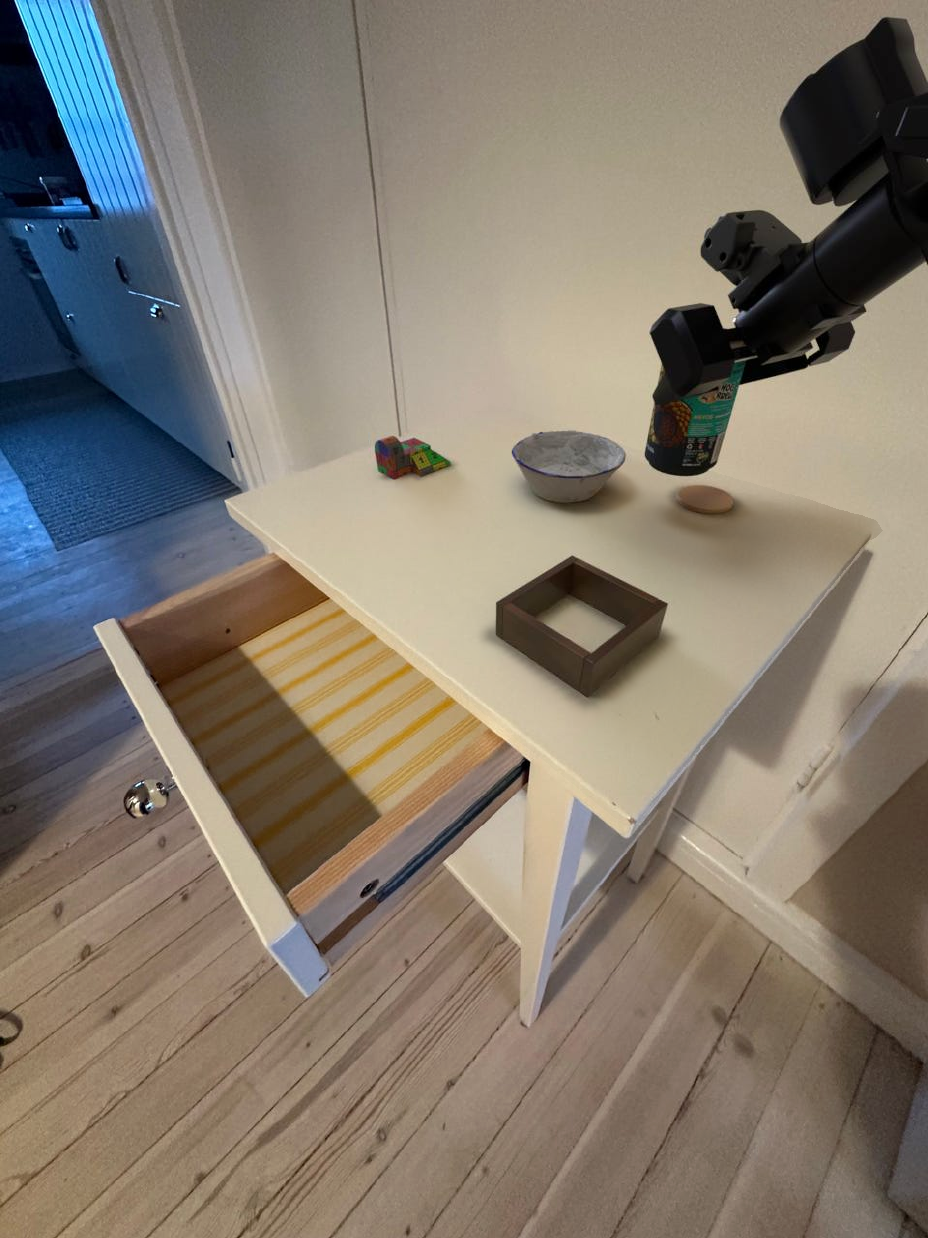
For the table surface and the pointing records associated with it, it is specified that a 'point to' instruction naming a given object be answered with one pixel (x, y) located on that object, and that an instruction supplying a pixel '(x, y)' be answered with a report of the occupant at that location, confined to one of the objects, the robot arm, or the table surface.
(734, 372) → the beverage can
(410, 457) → the numbered block arch
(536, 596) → the tray
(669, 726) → the table surface
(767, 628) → the table surface
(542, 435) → the bowl
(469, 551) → the table surface
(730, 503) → the coaster
